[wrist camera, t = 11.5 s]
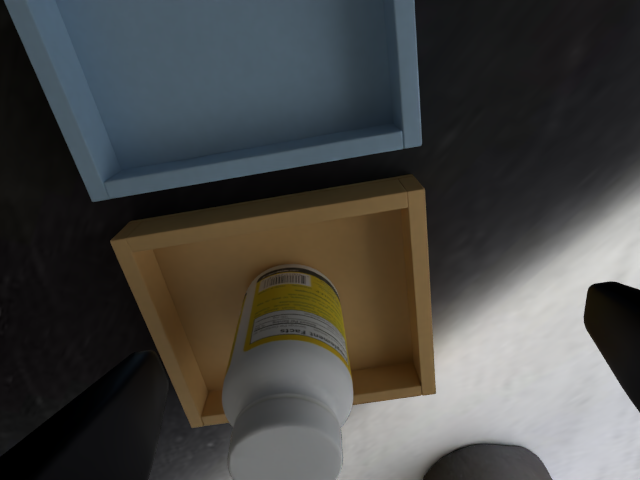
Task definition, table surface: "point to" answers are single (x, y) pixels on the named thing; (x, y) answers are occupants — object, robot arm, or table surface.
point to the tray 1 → (221, 85)
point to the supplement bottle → (288, 379)
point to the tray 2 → (278, 249)
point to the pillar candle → (489, 464)
